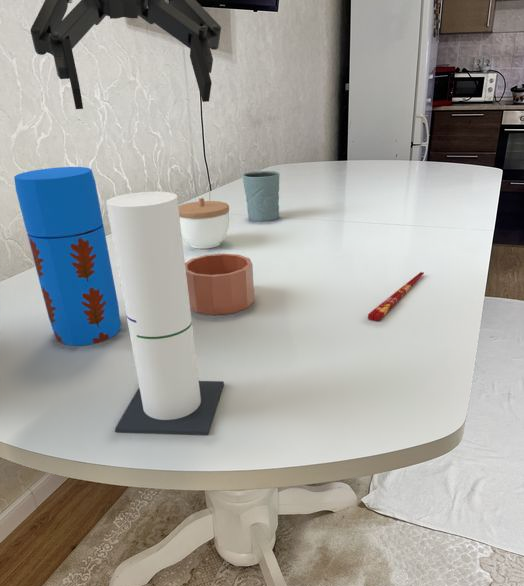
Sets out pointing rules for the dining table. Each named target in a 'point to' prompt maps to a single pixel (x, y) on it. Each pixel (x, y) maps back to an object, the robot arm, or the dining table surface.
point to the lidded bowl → (204, 223)
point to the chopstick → (392, 300)
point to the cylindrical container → (156, 300)
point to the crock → (220, 283)
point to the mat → (190, 424)
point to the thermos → (70, 252)
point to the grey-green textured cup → (262, 195)
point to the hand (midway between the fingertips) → (144, 96)
